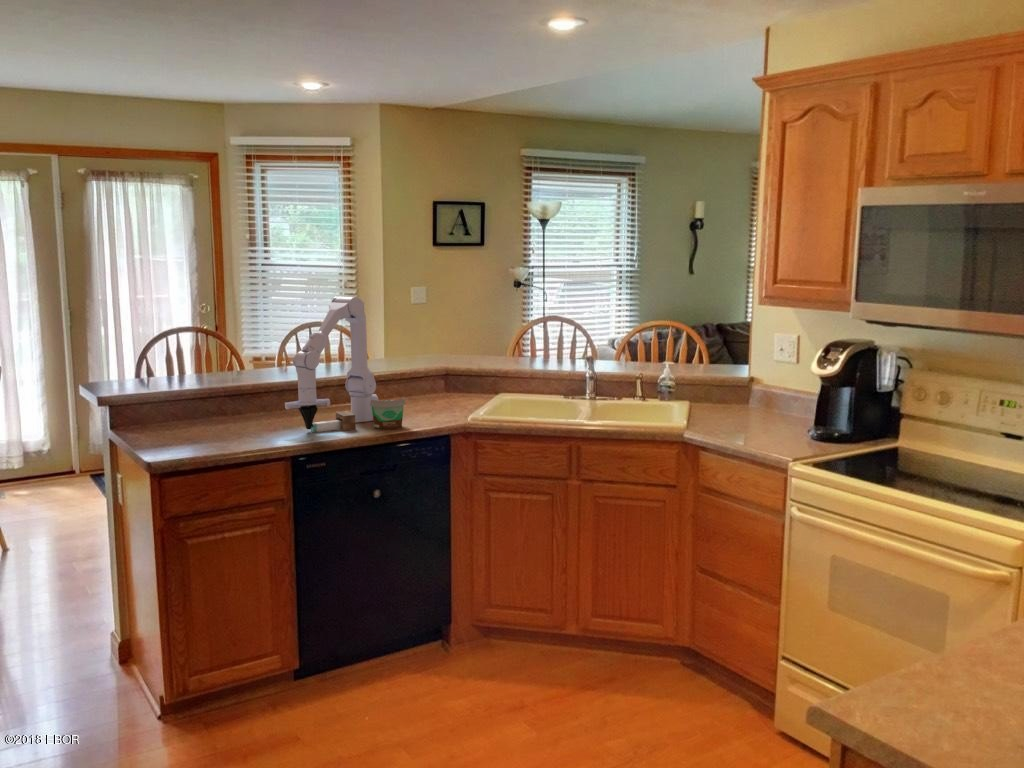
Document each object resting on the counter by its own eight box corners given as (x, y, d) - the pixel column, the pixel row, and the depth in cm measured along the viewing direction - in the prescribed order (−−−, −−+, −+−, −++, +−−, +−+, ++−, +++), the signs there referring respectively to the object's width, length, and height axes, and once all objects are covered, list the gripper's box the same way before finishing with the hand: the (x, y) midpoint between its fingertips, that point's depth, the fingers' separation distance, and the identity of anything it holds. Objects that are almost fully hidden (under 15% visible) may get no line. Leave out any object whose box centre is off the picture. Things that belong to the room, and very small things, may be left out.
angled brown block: (347, 425, 296) (346, 410, 295) (355, 429, 289) (355, 414, 289) (336, 426, 294) (335, 412, 293) (344, 430, 287) (343, 416, 287)
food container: (376, 432, 285) (375, 402, 283) (370, 429, 290) (369, 399, 289) (411, 428, 290) (410, 399, 289) (404, 425, 296) (404, 396, 294)
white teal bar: (339, 427, 292) (339, 419, 292) (342, 429, 290) (342, 421, 289) (310, 431, 287) (310, 422, 287) (313, 432, 285) (313, 424, 284)
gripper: (288, 391, 276) (290, 433, 278) (332, 387, 283) (334, 428, 285) (282, 388, 282) (284, 429, 284) (325, 384, 289) (327, 424, 291)
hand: (308, 428), depth 285 cm, fingers closed
